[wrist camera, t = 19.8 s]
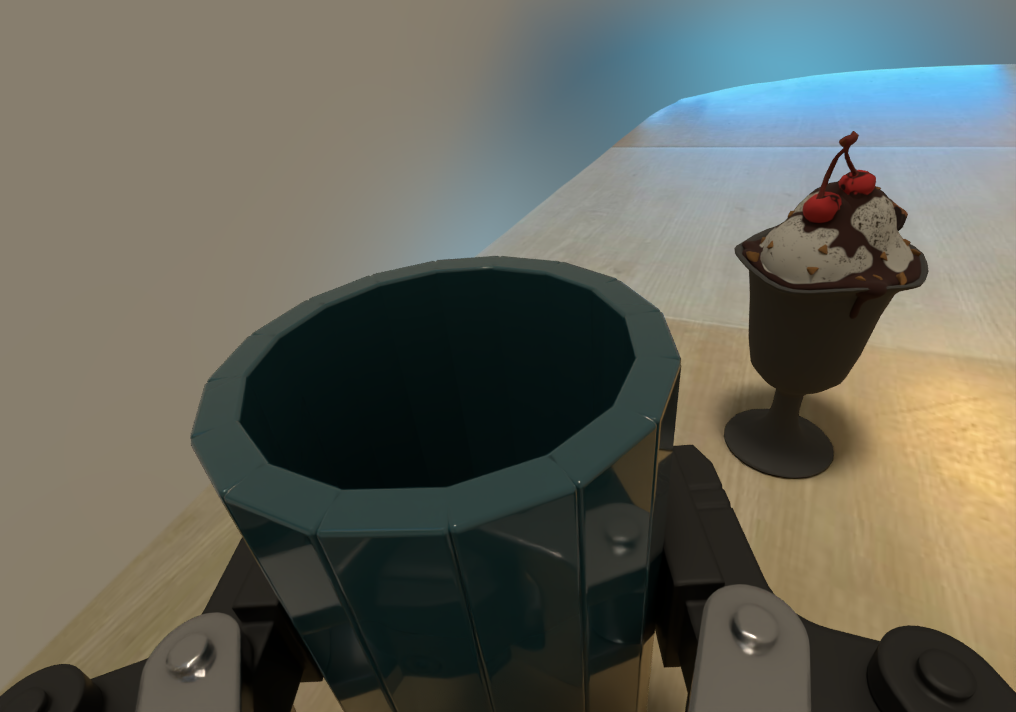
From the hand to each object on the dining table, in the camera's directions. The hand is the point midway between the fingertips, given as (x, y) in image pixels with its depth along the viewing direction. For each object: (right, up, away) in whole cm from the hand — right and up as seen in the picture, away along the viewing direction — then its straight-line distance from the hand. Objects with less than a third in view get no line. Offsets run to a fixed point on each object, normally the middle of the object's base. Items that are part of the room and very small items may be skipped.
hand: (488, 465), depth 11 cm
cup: (+1, -7, +1) cm, 7 cm away
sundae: (+14, -2, +15) cm, 21 cm away
